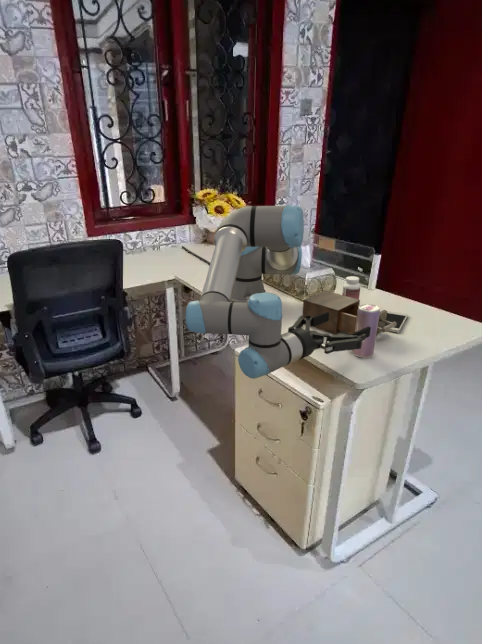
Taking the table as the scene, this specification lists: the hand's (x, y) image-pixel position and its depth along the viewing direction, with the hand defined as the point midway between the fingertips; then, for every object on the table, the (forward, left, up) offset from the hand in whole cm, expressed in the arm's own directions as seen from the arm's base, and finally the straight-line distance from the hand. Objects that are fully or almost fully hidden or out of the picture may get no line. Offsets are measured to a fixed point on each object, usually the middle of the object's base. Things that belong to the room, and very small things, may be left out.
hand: (347, 323), depth 115 cm
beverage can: (+1, +9, -13) cm, 16 cm away
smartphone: (-4, +36, -13) cm, 39 cm away
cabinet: (-19, +21, -13) cm, 31 cm away
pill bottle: (-23, +40, -13) cm, 48 cm away
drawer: (-6, +21, -12) cm, 25 cm away
